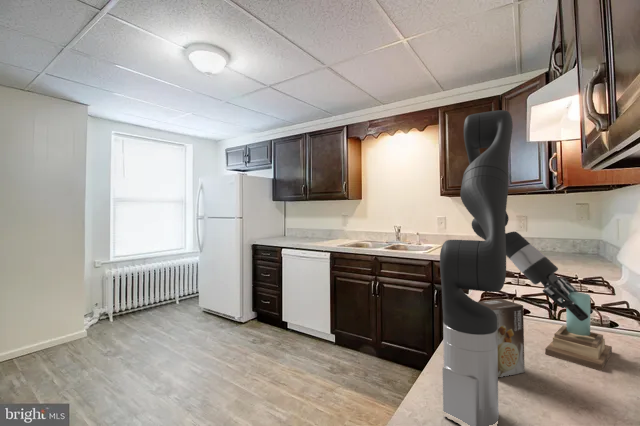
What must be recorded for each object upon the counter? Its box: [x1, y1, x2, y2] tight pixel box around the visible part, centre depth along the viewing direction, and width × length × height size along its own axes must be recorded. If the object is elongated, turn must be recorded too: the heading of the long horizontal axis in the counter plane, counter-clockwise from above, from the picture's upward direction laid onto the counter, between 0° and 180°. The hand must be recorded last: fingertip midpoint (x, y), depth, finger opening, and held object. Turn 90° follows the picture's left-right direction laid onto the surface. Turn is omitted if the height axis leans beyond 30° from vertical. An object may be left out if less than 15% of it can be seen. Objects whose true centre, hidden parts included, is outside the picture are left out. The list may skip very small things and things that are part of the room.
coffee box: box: [477, 298, 526, 378], centre depth 73 cm, size 9×6×16 cm
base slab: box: [544, 325, 613, 371], centre depth 80 cm, size 14×11×5 cm
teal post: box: [565, 291, 591, 336], centre depth 80 cm, size 5×5×10 cm
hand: (587, 316), depth 79 cm, fingers closed on teal post, 4 cm apart
